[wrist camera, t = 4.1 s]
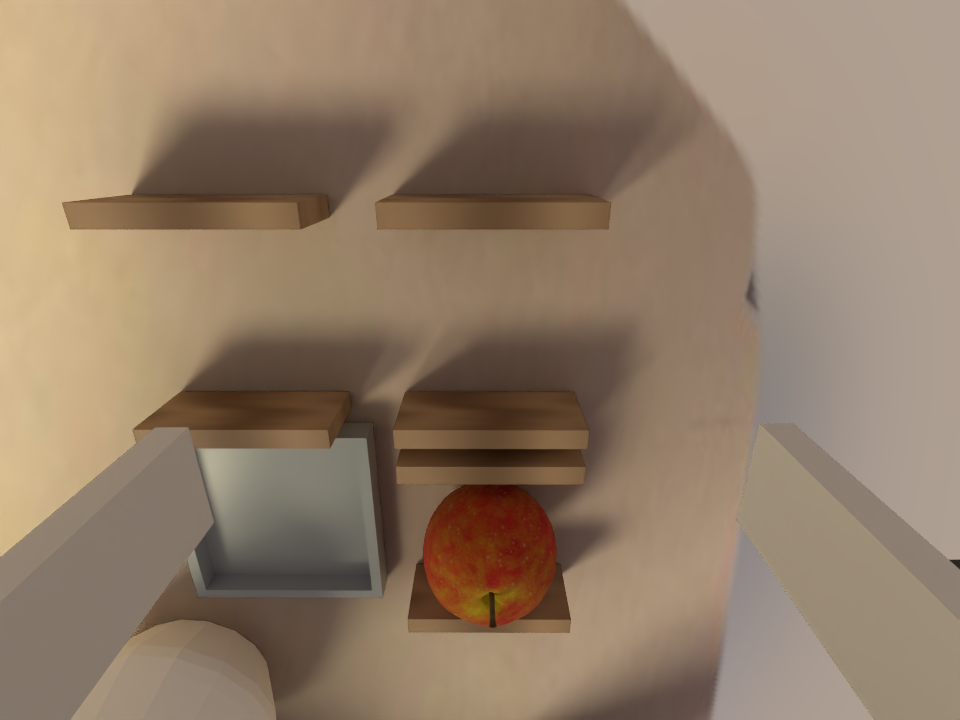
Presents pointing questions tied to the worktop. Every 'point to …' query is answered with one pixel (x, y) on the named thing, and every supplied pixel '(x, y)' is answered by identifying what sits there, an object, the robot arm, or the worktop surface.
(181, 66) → the worktop surface
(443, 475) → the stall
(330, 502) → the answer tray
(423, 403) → the stall
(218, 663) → the cup
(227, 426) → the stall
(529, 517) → the fruit
